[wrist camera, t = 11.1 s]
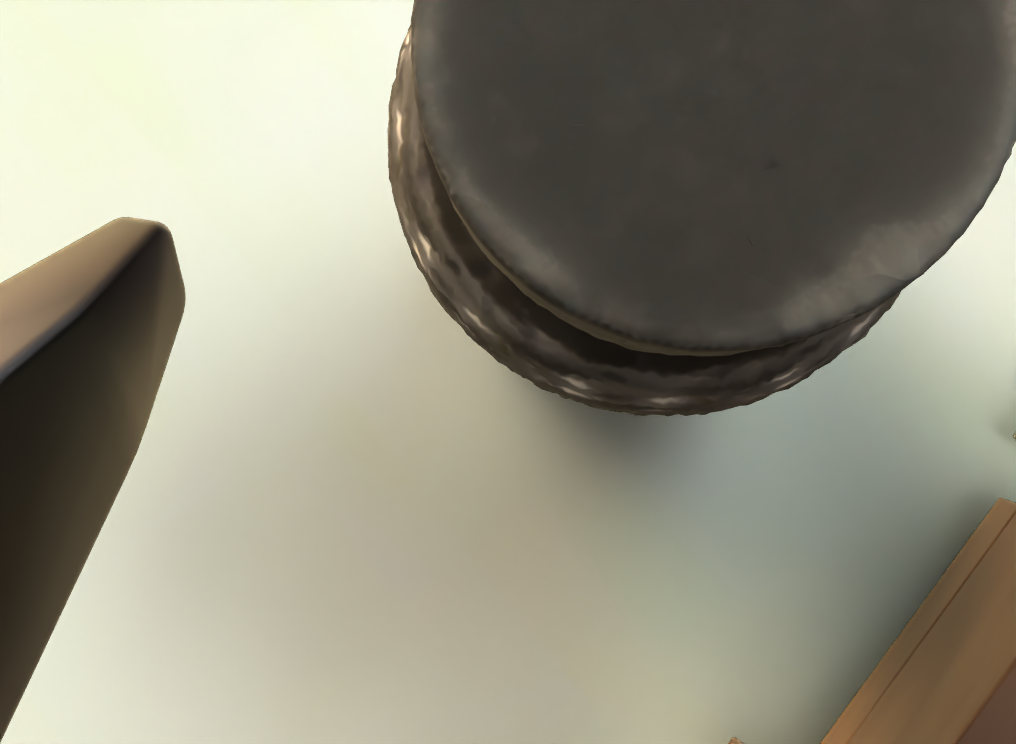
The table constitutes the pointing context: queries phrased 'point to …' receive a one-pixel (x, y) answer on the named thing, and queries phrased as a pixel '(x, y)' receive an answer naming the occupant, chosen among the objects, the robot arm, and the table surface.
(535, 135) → the pill bottle
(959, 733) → the drawer
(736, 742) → the box
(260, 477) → the table surface
